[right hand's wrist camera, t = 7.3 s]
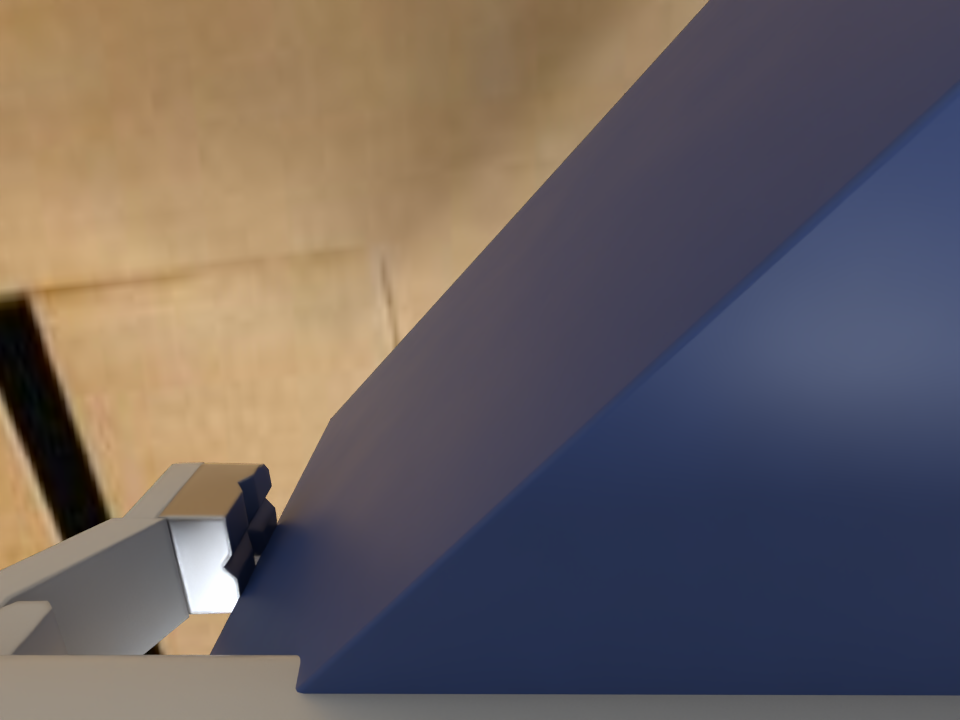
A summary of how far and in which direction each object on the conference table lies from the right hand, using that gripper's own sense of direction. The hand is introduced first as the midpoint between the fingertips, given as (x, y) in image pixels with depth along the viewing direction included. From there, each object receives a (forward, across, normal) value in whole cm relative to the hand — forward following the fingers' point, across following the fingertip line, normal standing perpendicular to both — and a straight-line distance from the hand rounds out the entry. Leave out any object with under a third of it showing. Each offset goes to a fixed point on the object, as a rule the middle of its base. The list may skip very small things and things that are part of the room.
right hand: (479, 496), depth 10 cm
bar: (+4, -7, -8) cm, 11 cm away
